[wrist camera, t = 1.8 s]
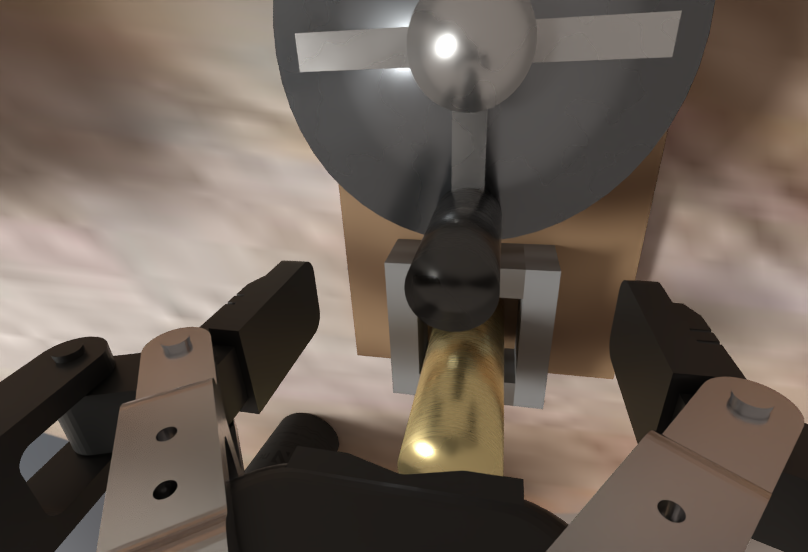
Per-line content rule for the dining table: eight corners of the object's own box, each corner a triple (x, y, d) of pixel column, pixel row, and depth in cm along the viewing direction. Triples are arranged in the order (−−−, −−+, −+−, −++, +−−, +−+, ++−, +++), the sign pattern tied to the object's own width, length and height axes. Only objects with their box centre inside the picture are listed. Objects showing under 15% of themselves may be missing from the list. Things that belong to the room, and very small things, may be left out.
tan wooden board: (314, -111, 18) (269, -148, 15) (722, -163, 15) (785, -224, 12) (362, 345, 29) (342, 386, 25) (609, 368, 26) (625, 418, 22)
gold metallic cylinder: (439, 277, 24) (394, 429, 15) (506, 281, 23) (506, 443, 14) (439, 332, 26) (399, 501, 16) (502, 337, 25) (500, 517, 15)
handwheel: (260, -191, 14) (45, -400, 8) (758, -276, 11) (1108, -724, 5) (318, 228, 21) (230, 314, 14) (644, 240, 18) (726, 353, 11)
